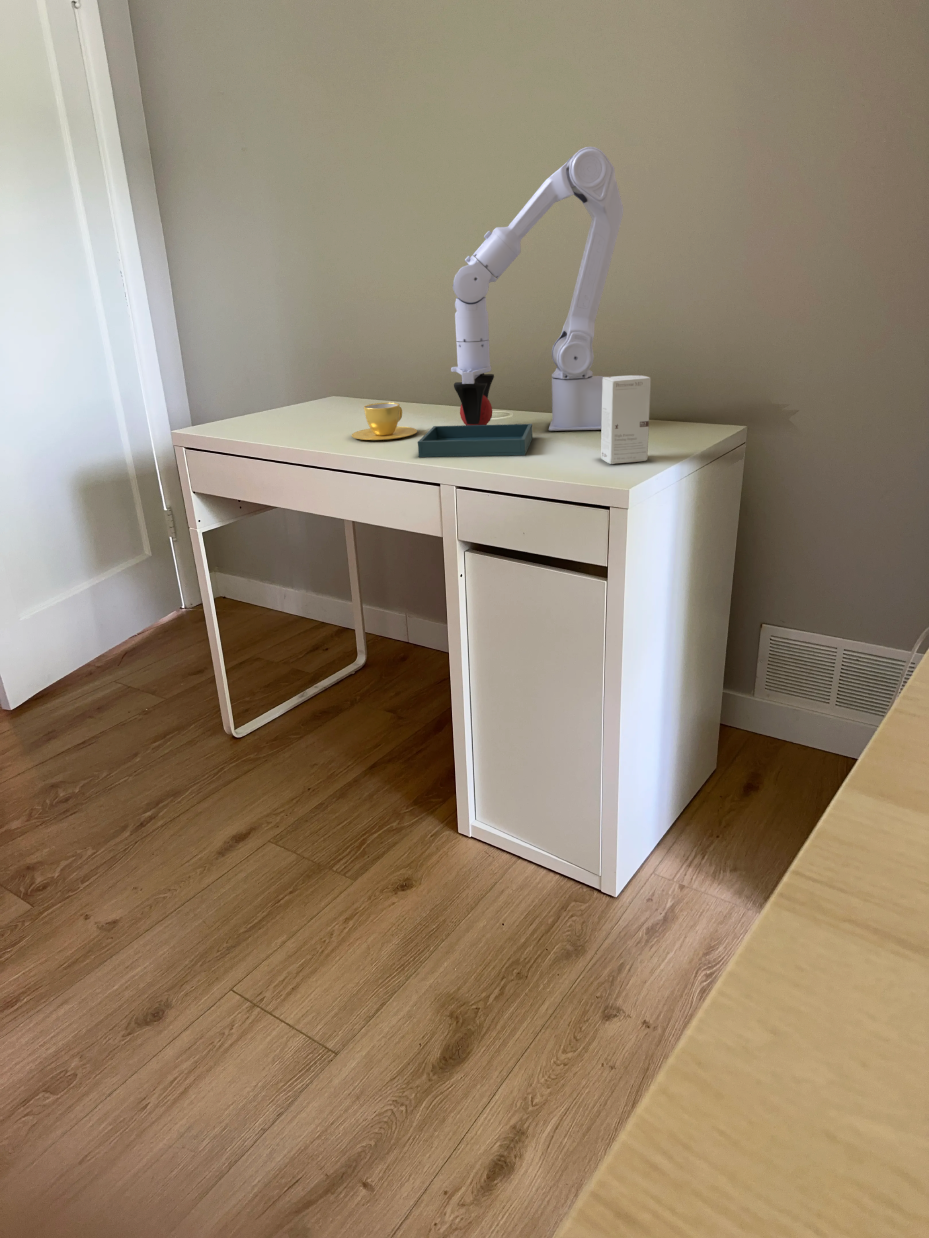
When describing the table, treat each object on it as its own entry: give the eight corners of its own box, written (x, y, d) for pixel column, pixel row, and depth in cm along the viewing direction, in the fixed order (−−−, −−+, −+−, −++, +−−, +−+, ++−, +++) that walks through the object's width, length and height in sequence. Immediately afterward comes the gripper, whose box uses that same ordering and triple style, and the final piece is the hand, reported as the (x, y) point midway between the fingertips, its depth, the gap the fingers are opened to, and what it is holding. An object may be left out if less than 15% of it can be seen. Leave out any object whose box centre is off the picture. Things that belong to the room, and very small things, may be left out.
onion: (490, 435, 151) (488, 389, 148) (458, 435, 152) (455, 390, 149) (495, 429, 156) (493, 384, 153) (464, 429, 157) (462, 385, 154)
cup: (387, 444, 148) (384, 413, 146) (338, 439, 155) (334, 409, 153) (430, 431, 157) (428, 401, 155) (382, 427, 164) (379, 398, 161)
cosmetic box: (610, 465, 125) (611, 380, 120) (599, 459, 129) (600, 377, 124) (649, 461, 126) (652, 377, 122) (637, 455, 130) (639, 373, 126)
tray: (532, 438, 146) (532, 423, 145) (525, 455, 134) (524, 439, 133) (434, 440, 149) (433, 426, 148) (418, 457, 137) (417, 441, 136)
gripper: (457, 337, 155) (460, 413, 160) (442, 345, 142) (447, 427, 147) (495, 336, 154) (498, 412, 159) (484, 344, 141) (487, 427, 146)
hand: (476, 419), depth 153 cm, fingers open, 7 cm apart
